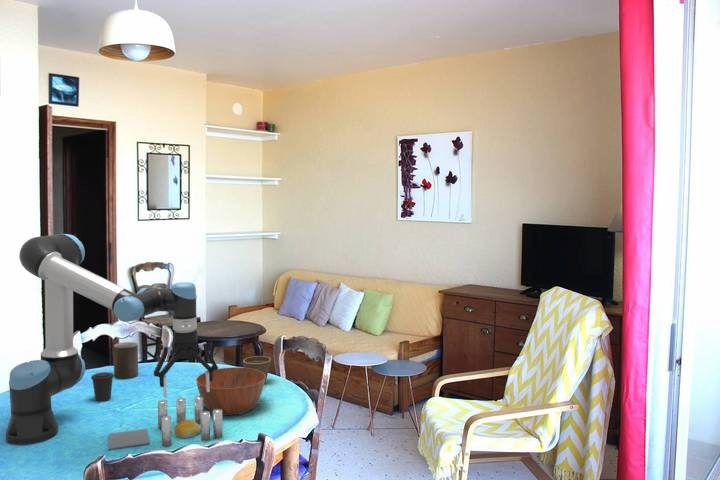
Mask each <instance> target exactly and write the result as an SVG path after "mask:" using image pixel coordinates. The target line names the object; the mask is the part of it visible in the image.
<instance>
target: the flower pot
mask: <svg viewBox="0 0 720 480" xmlns="http://www.w3.org/2000/svg"><path fill="white" fill-rule="evenodd" d="M242 362H243V365H242V366H243V368H252V369H256V370H259V371H261V372H263V373H264V374H265V382H264V385H265V384H266V382H267V378H268V375H269V369H270V366H271V365H272V359H271V357H268V356H264V355H255V356H249V357H246V358H243V360H242Z"/></svg>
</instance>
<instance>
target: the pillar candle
mask: <svg viewBox="0 0 720 480" xmlns="http://www.w3.org/2000/svg"><path fill="white" fill-rule="evenodd" d="M113 375H114V376H113V378H114V379H117V380H130V379H134V378H137V377H139V344H138V343H137V342H132V341H131V342H130V341H124V342H118V343H116V344H114V345H113Z"/></svg>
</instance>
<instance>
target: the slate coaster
mask: <svg viewBox="0 0 720 480" xmlns="http://www.w3.org/2000/svg"><path fill="white" fill-rule="evenodd" d="M148 445H150V436H149V429H148V428H144V429H143V428H142V429H141V428H140V429H136V430H135V429H133V430H128V431H127V430H126V431H119V432H113V433H108V451H113V450H114V451H115V450H121V449H122V450H123V449H127V448H134V447H142V446H148Z"/></svg>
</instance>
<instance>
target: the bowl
mask: <svg viewBox="0 0 720 480" xmlns="http://www.w3.org/2000/svg"><path fill="white" fill-rule="evenodd" d="M212 376H213V380H212V381H209V388H210V392H207V391H206V371H205V372H203V373H201V374H199V375H198V376H197V377H196V379H195V380H196V386H197V390H198V391H197V392H198V393H199V396H203V401H204V406H205V408H206V409H207V411H210V413H213V410H214V409H222V416H234V415H235V416H236V415H240V414H241V415H242V414H244V413H247V412H249V411H251V410H252V409H254V408H255V407H256V405H257V404H258V403H259V400H260V398H261V396H262V393H263V390H264V386H265V384H264V382H265V374H264V373H263V372H261V371H259V370H256V369H252V368H245V367H241V366H240V367H239V366H238V367H236V366H235V367H222V368H218V369H217V370H214V371H213V372H212Z"/></svg>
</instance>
